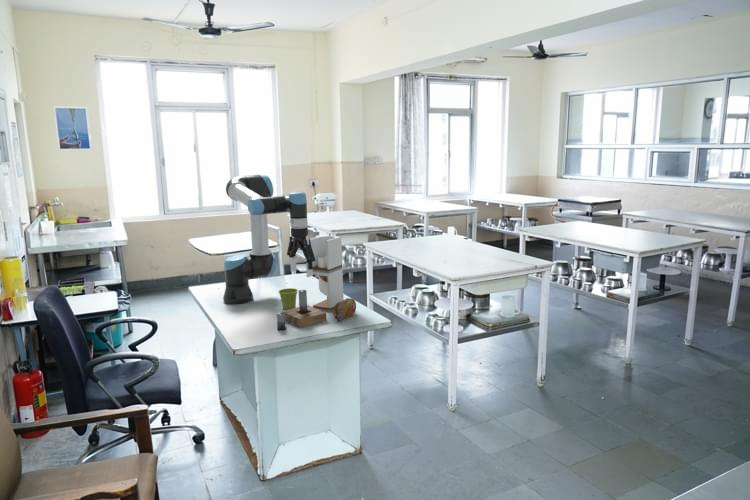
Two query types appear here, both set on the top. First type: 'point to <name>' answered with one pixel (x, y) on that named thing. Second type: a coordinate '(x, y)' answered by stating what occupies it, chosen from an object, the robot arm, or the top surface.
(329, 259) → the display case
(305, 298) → the tall pin
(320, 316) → the hole block
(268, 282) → the top surface
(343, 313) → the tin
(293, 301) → the plant pot
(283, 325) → the short pin
